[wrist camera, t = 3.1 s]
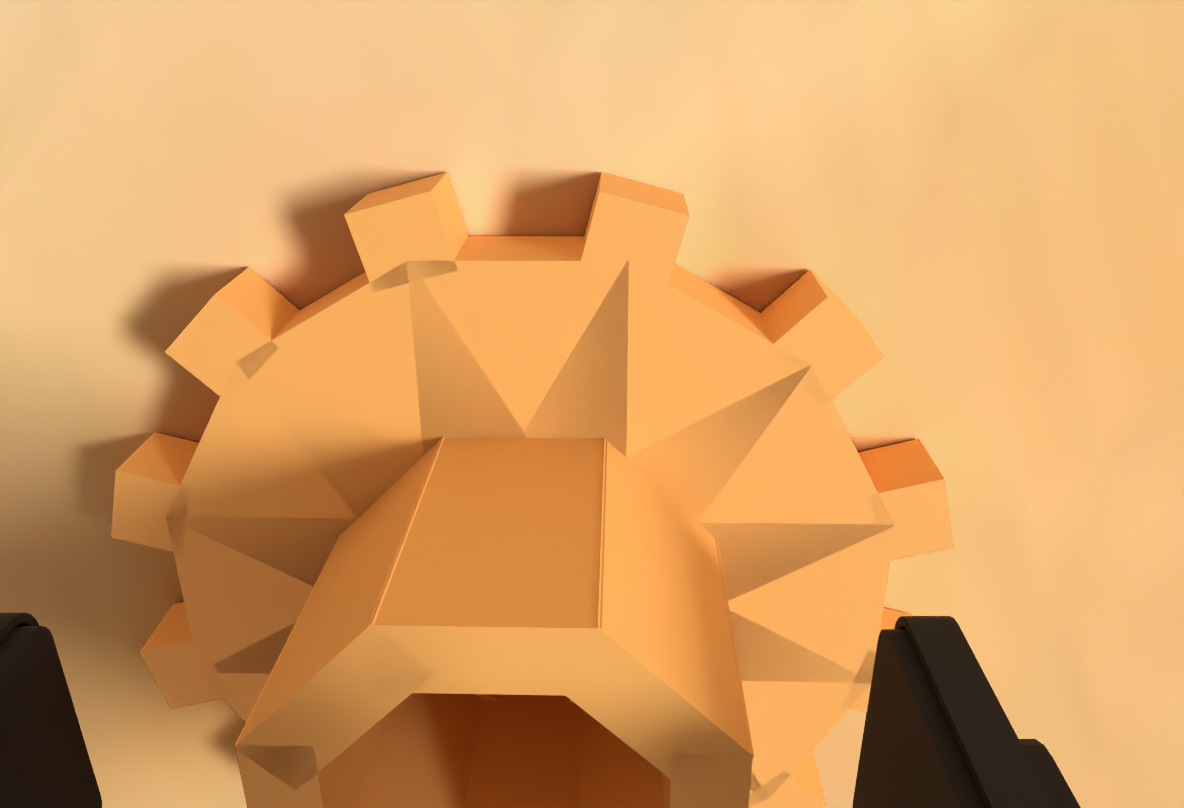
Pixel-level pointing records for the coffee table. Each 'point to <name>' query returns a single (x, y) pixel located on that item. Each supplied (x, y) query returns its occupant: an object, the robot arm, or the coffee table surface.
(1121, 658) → the coffee table surface
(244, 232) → the coffee table surface
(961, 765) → the robot arm
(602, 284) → the planet gear
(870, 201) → the coffee table surface
